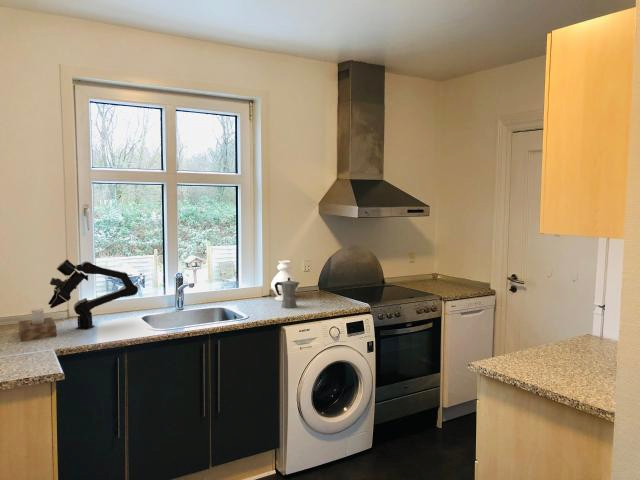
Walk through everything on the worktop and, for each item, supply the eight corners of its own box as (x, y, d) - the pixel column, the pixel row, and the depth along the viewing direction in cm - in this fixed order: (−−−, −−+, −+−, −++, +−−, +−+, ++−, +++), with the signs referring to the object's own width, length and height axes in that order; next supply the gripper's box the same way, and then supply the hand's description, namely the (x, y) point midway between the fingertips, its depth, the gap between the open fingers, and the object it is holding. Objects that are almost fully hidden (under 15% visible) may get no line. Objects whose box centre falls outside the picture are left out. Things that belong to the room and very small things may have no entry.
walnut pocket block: (52, 327, 260) (52, 317, 259) (56, 336, 243) (56, 325, 243) (18, 331, 252) (18, 321, 251) (20, 341, 235) (20, 330, 235)
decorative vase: (274, 295, 340) (273, 259, 338) (300, 296, 339) (299, 259, 336) (268, 301, 323) (268, 262, 321) (296, 301, 321) (295, 263, 319)
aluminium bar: (43, 328, 251) (42, 308, 250) (44, 330, 247) (43, 310, 246) (32, 329, 248) (31, 309, 247) (32, 332, 244) (31, 311, 243)
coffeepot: (298, 304, 312) (298, 276, 311) (301, 307, 303) (300, 278, 301) (273, 305, 309) (273, 277, 307) (275, 309, 300) (275, 279, 298)
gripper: (57, 269, 259) (34, 293, 254) (62, 274, 243) (37, 299, 238) (75, 283, 264) (53, 306, 259) (80, 288, 248) (56, 313, 243)
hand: (49, 305), depth 250 cm, fingers open, 9 cm apart
